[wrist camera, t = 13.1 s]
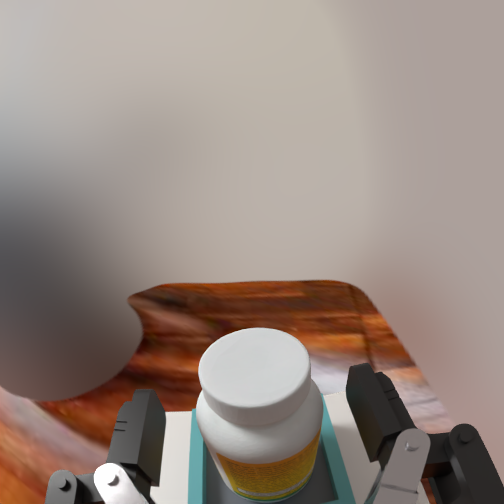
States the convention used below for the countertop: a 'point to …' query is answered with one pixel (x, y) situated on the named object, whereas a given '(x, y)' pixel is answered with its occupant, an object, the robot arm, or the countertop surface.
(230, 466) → the supplement bottle
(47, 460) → the countertop surface
